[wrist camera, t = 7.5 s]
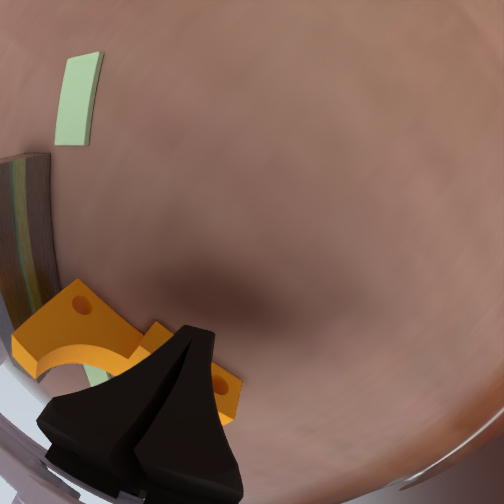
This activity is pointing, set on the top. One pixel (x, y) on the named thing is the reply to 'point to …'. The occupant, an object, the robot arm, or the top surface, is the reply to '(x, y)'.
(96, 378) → the plate
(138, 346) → the pipe clamp
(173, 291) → the top surface
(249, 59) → the top surface
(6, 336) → the curved gray arc panel
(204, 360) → the robot arm
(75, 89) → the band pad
